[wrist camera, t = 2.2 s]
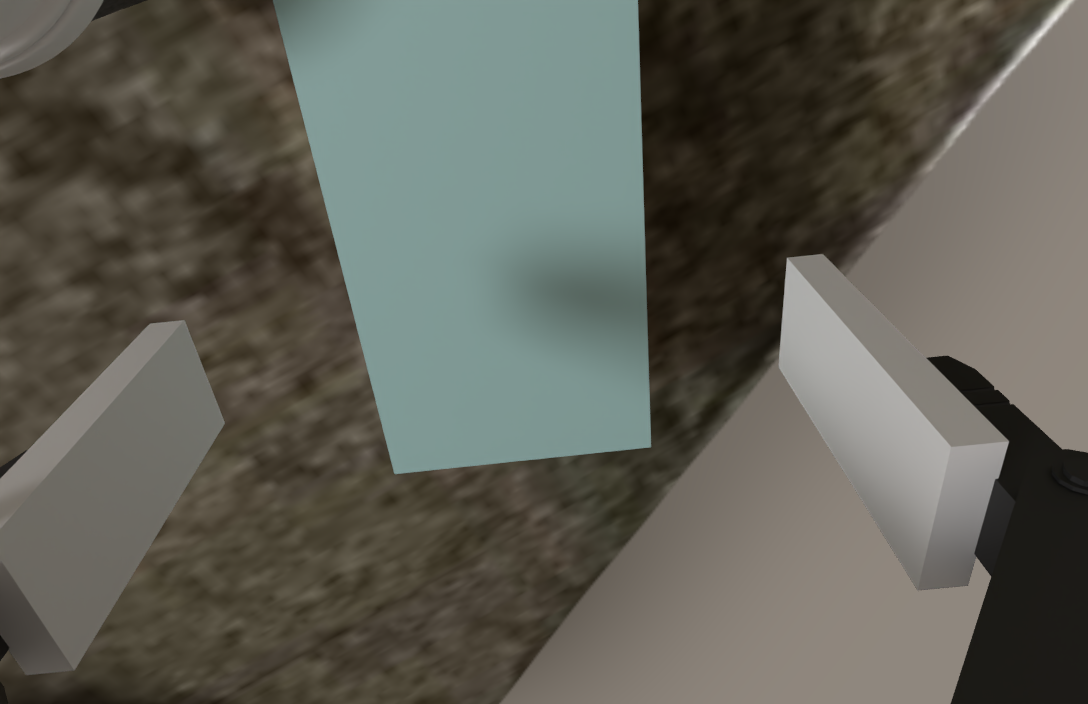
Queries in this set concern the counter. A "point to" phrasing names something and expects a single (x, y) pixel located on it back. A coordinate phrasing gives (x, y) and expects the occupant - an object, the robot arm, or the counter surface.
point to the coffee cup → (45, 28)
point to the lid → (485, 217)
